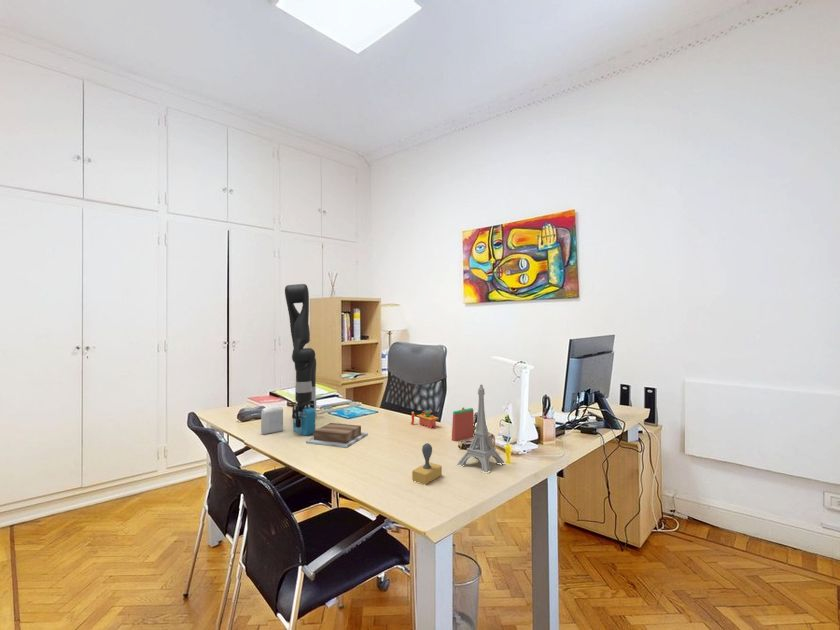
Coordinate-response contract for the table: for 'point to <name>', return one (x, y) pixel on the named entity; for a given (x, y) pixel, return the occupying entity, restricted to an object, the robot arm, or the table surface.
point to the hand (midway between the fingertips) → (303, 424)
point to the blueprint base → (337, 435)
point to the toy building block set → (460, 425)
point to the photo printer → (271, 419)
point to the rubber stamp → (427, 468)
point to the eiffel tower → (481, 440)
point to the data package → (306, 422)
